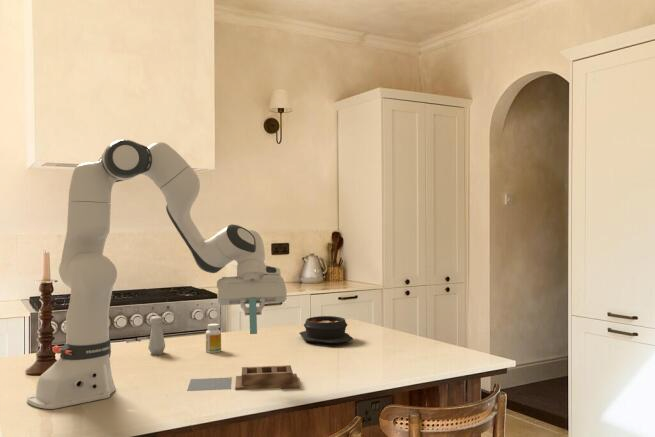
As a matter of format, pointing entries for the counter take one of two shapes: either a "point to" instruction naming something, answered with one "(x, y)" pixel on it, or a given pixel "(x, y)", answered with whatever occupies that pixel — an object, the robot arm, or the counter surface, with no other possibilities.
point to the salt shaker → (156, 336)
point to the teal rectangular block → (253, 315)
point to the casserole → (326, 330)
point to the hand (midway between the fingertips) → (253, 313)
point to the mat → (209, 384)
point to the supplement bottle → (213, 339)
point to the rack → (267, 378)
